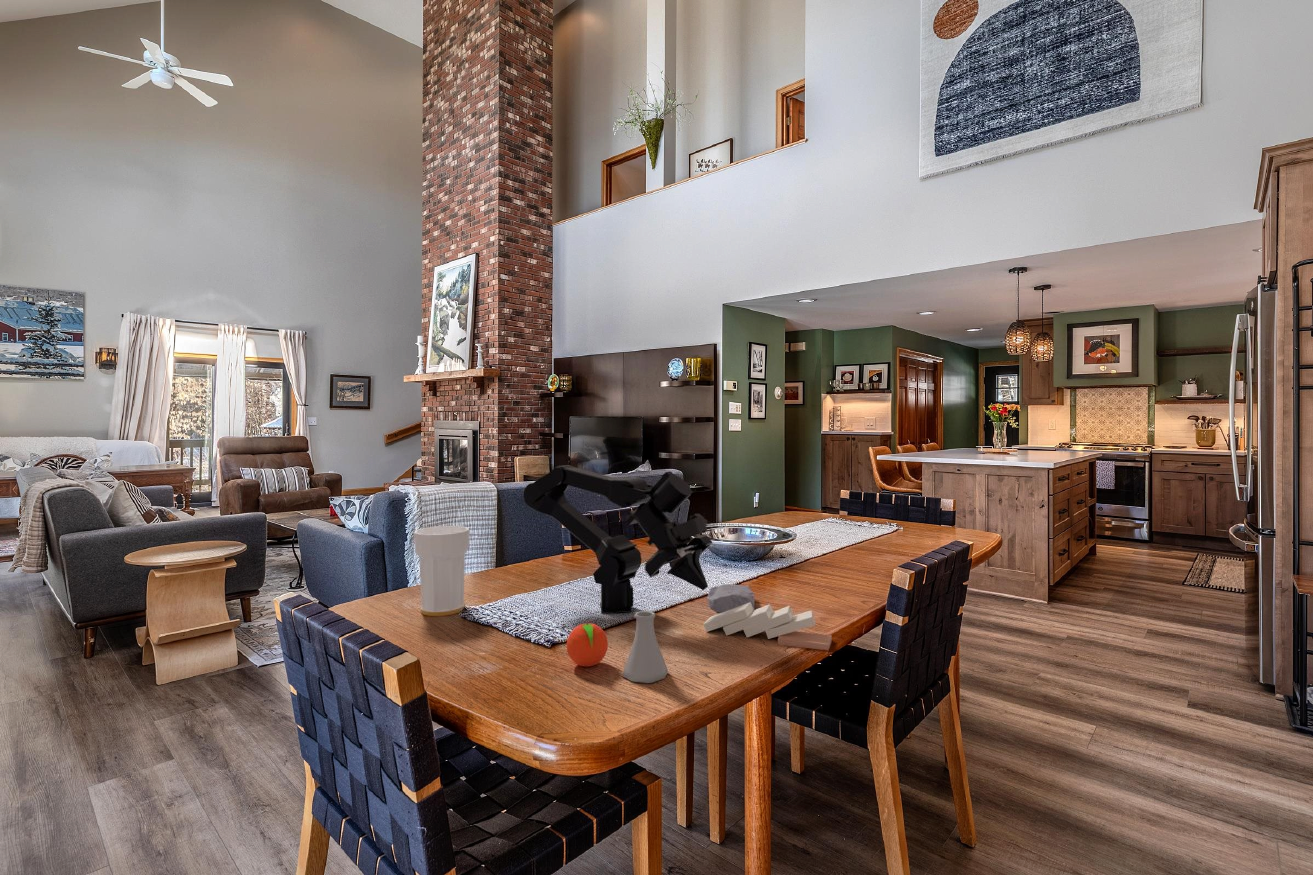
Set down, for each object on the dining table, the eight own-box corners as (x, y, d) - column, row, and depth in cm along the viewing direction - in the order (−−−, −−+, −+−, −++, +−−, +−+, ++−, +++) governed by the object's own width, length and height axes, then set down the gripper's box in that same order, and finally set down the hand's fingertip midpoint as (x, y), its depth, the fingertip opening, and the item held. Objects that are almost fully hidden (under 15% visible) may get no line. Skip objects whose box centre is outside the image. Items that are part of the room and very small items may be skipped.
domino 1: (703, 624, 123) (744, 609, 120) (710, 616, 128) (750, 602, 125) (706, 632, 123) (748, 617, 120) (713, 624, 128) (753, 609, 125)
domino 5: (777, 638, 116) (828, 644, 113) (782, 629, 121) (831, 635, 118) (777, 646, 116) (828, 653, 113) (782, 637, 121) (831, 643, 118)
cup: (469, 600, 145) (468, 524, 144) (471, 614, 134) (470, 532, 134) (416, 605, 141) (415, 527, 141) (414, 620, 131) (412, 536, 130)
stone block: (713, 622, 135) (759, 612, 135) (708, 600, 135) (754, 590, 135) (708, 607, 147) (750, 598, 147) (704, 587, 147) (746, 578, 147)
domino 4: (765, 630, 118) (812, 616, 117) (766, 623, 123) (811, 610, 121) (768, 638, 118) (815, 625, 116) (769, 631, 123) (814, 618, 121)
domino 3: (743, 629, 120) (787, 612, 117) (747, 621, 124) (789, 605, 122) (746, 637, 119) (791, 620, 117) (750, 629, 124) (793, 613, 122)
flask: (652, 688, 98) (651, 623, 97) (613, 678, 102) (613, 615, 101) (675, 672, 104) (675, 611, 103) (638, 663, 108) (638, 604, 107)
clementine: (613, 672, 103) (613, 629, 103) (571, 677, 102) (570, 633, 101) (603, 655, 111) (603, 614, 111) (563, 659, 109) (563, 618, 109)
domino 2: (722, 627, 121) (765, 611, 118) (728, 619, 126) (769, 604, 123) (726, 635, 121) (769, 619, 118) (732, 627, 126) (773, 611, 123)
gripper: (658, 507, 120) (710, 573, 115) (704, 497, 136) (751, 554, 131) (624, 544, 125) (672, 609, 120) (672, 530, 141) (716, 586, 135)
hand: (705, 588), depth 126 cm, fingers closed
